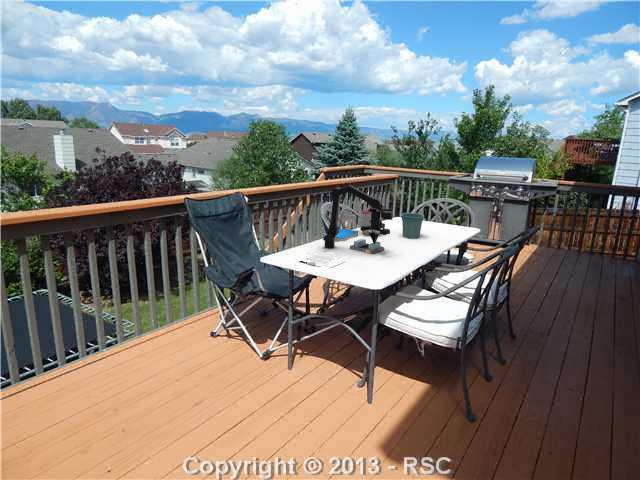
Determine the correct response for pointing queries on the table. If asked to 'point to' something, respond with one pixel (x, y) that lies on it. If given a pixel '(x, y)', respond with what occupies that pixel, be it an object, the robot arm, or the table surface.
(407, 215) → the flower pot
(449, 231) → the table surface
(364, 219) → the grey plant pot
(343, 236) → the book
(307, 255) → the tray
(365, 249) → the rack
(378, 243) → the panel
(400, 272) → the table surface
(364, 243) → the fitted panel
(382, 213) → the robot arm
